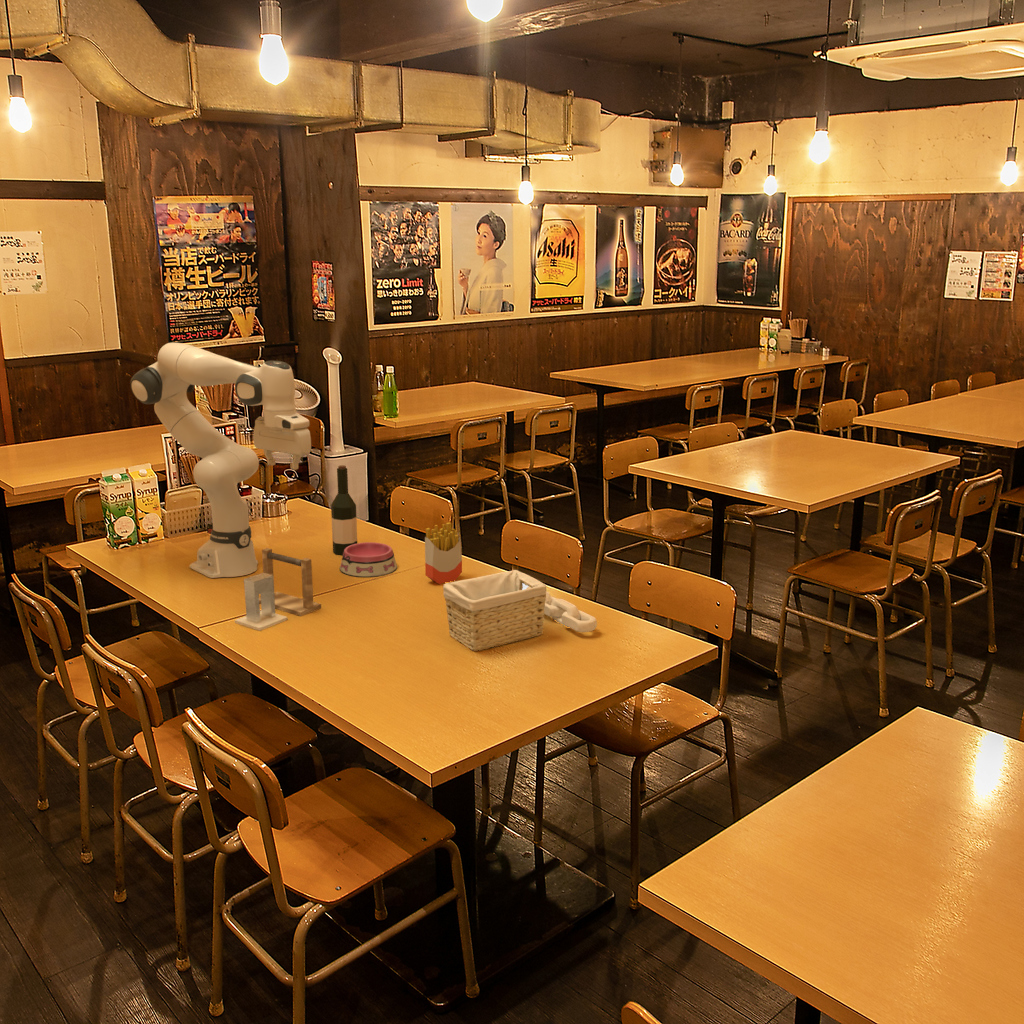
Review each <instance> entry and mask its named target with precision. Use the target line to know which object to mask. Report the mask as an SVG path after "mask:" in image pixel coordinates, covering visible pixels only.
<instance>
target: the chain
mask: <svg viewBox="0 0 1024 1024" xmlns="http://www.w3.org/2000/svg"><path fill="white" fill-rule="evenodd" d="M530 588H531V587H529V586H527V587H526V588H525V589H530ZM544 616H548V617H551V618H552V620H553V619H554V620H556V621H557V622H559V623H561V624H563V625H565V626H567V627H570V628H569V629H572V630H573V631H576V632H579V633H589V632H592V631H595V629H596V628H597V625H598V620H597V618H596V617H595V616H592V615H591V614H588V613H587V612H584V610H583V611H582V610H579V609H578V606H576V605H575V604H573V603H571V602H569V601H567V600H565V599H563V598H557V597H554V596H552V595H551V593H549V591H547V590H546V601H545V606H544ZM554 620H553V621H554ZM557 622H556V623H557ZM559 623H558V624H559ZM561 624H560V625H561ZM563 625H562V626H563Z"/></svg>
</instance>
